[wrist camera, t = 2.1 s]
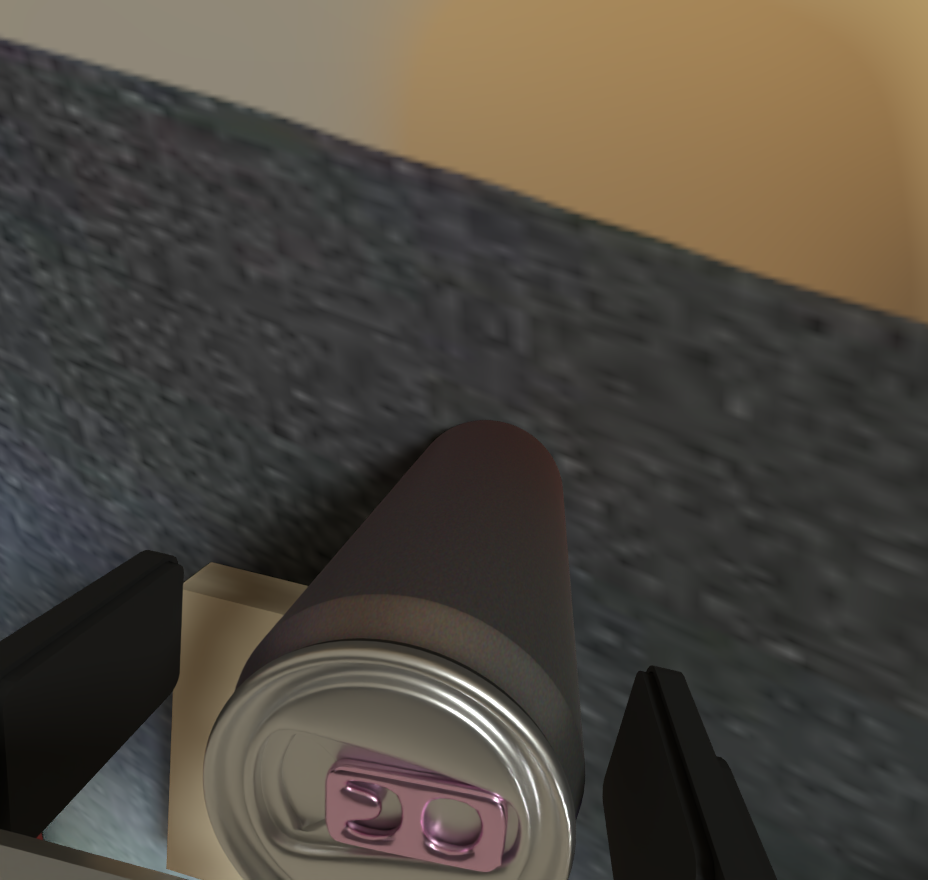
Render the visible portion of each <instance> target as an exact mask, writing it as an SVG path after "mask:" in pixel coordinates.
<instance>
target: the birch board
mask: <svg viewBox="0 0 928 880" xmlns="http://www.w3.org/2000/svg"><path fill="white" fill-rule="evenodd" d="M307 587H308V586H306V585H302V584H298V583H294V582H290V581H286V580H282V579H278V578H274V577H270V576H266V575H261V574H257V573H253V572H249V571H245V570H241V569H237V568H233V567H229V566H225V565H221V564H217V563H213V562H211V563H209V564H208V565H207V566H205V567H204V568H203V569H201V570H200V571H199V572H197V573H196V574H195V575H193V576H192V577H191V578H189V579H188V580H187V581H185V582H184V583H183V602H182V628H181V654H180V675H179V679H178V682H177V684H176V686H175V688H174V690H173V707H172V733H171V760H170V787H169V814H168V841H167V868H166V869H169V870H172V871H176V872H179V873H182V874H185V875H188V876H192V877H195V878H198V879H201V880H243V878H242V877H241V876H240V875H239V873H238V872H237V871H236V869H235V868H234V867H233V865H232V864H231V862H230V861H229V859H228V857H227V856H226V854H225V853H224V851H223V849H222V847H221V845H220V843H219V841H218V839H217V837H216V835H215V833H214V830H213V827H212V825H211V822H210V819H209V816H208V812H207V808H206V803H205V798H204V790H203V763H204V756H205V750H206V745H207V742H208V738H209V735H210V733H211V730H212V727H213V725H214V723H215V721H216V719H217V717H218V715H219V713H220V712H221V710H222V708H223V707H224V705H225V704H226V702H227V701H228V700H229V698H230V697H231V696H232V695H233V693H234V691H235V688H236V685H237V682H238V679H239V677H240V674H241V672H242V670H243V668H244V666H245V664H246V662H247V660H248V659H249V657H250V655H251V654H252V652H253V651H254V650H255V648H256V647H257V646H258V644H259V643H260V642H261V641H262V640H263V638H264V637H265V636H266V635H267V634H268V633H269V632H270V630H271V629H272V628H273V627H274V626H275V625H276V623H277V622H278V621H279V620H280V619H281V618H282V616H283V615H284V614H285V613H286V612H287V611H288V609H289V608H290V607H291V606H292V605H293V604H294V602H295V601H296V600H297V599H298V598H299V597H300V595H301V594H302V593H303V592H304V591H305V590H306V588H307Z"/></svg>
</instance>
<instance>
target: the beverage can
mask: <svg viewBox="0 0 928 880" xmlns="http://www.w3.org/2000/svg"><path fill="white" fill-rule="evenodd" d="M584 784H585V761H584V748H583V736H582V723H581V711H580V698H579V686H578V673H577V661H576V648H575V636H574V623H573V611H572V598H571V586H570V573H569V561H568V548H567V536H566V523H565V511H564V498H563V487H562V480H561V476H560V473H559V470H558V467H557V465H556V463H555V461H554V459H553V458H552V456H551V455H550V453H549V452H548V450H547V449H546V448H545V447H544V446H543V445H542V444H541V443H540V442H539V441H538V440H537V439H536V438H535V437H533V436H532V435H531V434H529V433H528V432H526V431H524V430H523V429H521V428H518V427H516V426H514V425H511V424H508V423H504V422H500V421H492V420H479V421H471V422H467V423H463V424H460V425H457V426H455V427H453V428H451V429H449V430H447V431H446V432H444V433H443V434H441V435H440V436H439V437H437V438H436V439H435V440H434V441H433V442H432V443H431V444H430V445H429V447H428V448H427V449H426V450H425V451H424V452H423V454H422V455H421V456H420V457H419V458H418V459H417V461H416V462H415V463H414V464H413V465H412V466H411V468H410V469H409V470H408V471H407V472H406V473H405V475H404V476H403V477H402V478H401V479H400V480H399V481H398V483H397V484H396V485H395V486H394V487H393V488H392V490H391V491H390V492H389V493H388V494H387V495H386V497H385V498H384V499H383V500H382V501H381V502H380V504H379V505H378V506H377V507H376V508H375V509H374V511H373V512H372V513H371V514H370V515H369V516H368V518H367V519H366V520H365V521H364V522H363V523H362V525H361V526H360V527H359V528H358V529H357V530H356V532H355V533H354V534H353V535H352V536H351V537H350V538H349V540H348V541H347V542H346V543H345V544H344V545H343V547H342V548H341V549H340V550H339V551H338V552H337V554H336V555H335V556H334V557H333V558H332V559H331V561H330V562H329V563H328V564H327V565H326V566H325V568H324V569H323V570H322V571H321V572H320V573H319V575H318V576H317V577H316V578H315V579H314V580H313V582H312V583H311V584H310V585H309V586H308V587H307V588H306V590H305V591H304V592H303V593H302V594H301V595H300V597H299V598H298V599H297V600H296V601H295V602H294V604H293V605H292V606H291V607H290V608H289V609H288V611H287V612H286V613H285V614H284V615H283V616H282V618H281V619H280V620H279V621H278V622H277V623H276V625H275V626H274V627H273V628H272V629H271V630H270V632H269V633H268V634H267V635H266V636H265V637H264V638H263V640H262V641H261V642H260V643H259V644H258V646H257V647H256V648H255V650H254V651H253V652H252V654H251V655H250V657H249V659H248V660H247V662H246V664H245V666H244V668H243V670H242V672H241V674H240V677H239V679H238V682H237V685H236V688H235V691H234V693H233V695H232V696H231V697H230V698H229V700H228V701H227V702H226V704H225V705H224V707H223V708H222V710H221V712H220V713H219V715H218V717H217V719H216V721H215V723H214V725H213V727H212V730H211V733H210V735H209V738H208V742H207V745H206V750H205V756H204V763H203V790H204V798H205V803H206V808H207V812H208V816H209V819H210V822H211V825H212V827H213V830H214V833H215V835H216V837H217V839H218V841H219V843H220V845H221V847H222V849H223V851H224V853H225V854H226V856H227V857H228V859H229V861H230V862H231V864H232V865H233V867H234V868H235V869H236V871H237V872H238V873H239V875H240V876H241V877H242V878H243V880H568V878H569V875H570V872H571V869H572V864H573V859H574V854H575V844H576V819H577V816H578V813H579V810H580V806H581V803H582V798H583V793H584Z"/></svg>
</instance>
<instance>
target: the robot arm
mask: <svg viewBox="0 0 928 880" xmlns="http://www.w3.org/2000/svg"><path fill="white" fill-rule="evenodd" d="M183 575H184V572H183V567H182V566H181V565H179V564H178V561H177V559H176V557H174V556H172V555H168V554H163V553H159V552H155V551H150V550H145V551H142V552H140V553H139V554H137V555H136V556H134V557H133V558H131V559H129V560H128V561H126V562H125V563H123V564H122V565H120V566H118V567H117V568H115V569H114V570H112V571H110V572H109V573H107V574H106V575H104V576H103V577H101V578H99V579H98V580H96V581H95V582H93V583H92V584H90V585H88V586H87V587H85V588H84V589H82V590H81V591H79V592H77V593H76V594H74V595H73V596H71V597H70V598H68V599H66V600H65V601H63V602H62V603H60V604H58V605H57V606H55V607H54V608H52V609H51V610H49V611H47V612H46V613H44V614H43V615H41V616H40V617H38V618H36V619H35V620H33V621H32V622H30V623H29V624H27V625H25V626H24V627H22V628H21V629H19V630H17V631H16V632H14V633H13V634H11V635H10V636H8V637H6V638H5V639H3V640H2V641H0V880H187V879H184V878H180V877H177V876H173V875H169V874H166V873H162V872H158V871H155V870H151V869H147V868H144V867H140V866H136V865H132V864H129V863H125V862H121V861H118V860H114V859H110V858H107V857H103V856H99V855H95V854H92V853H88V852H84V851H81V850H77V849H73V848H70V847H66V846H62V845H58V844H55V843H51V842H47V841H44V840H40V839H36V838H37V837H38V836H39V835H40V834H41V833H42V831H43V830H44V829H45V828H46V827H47V826H48V825H49V824H50V823H51V822H52V821H53V820H54V819H55V817H56V816H57V815H58V814H59V813H60V812H61V811H62V810H63V809H64V808H65V807H66V806H67V805H68V803H69V802H70V801H71V800H72V799H73V798H74V797H75V796H76V795H77V794H78V793H79V792H80V791H81V790H82V788H83V787H84V786H85V785H86V784H87V783H88V782H89V781H90V780H91V779H92V778H93V777H94V776H95V774H96V773H97V772H98V771H99V770H100V769H101V768H102V767H103V766H104V765H105V764H106V763H107V762H108V760H109V759H110V758H111V757H112V756H113V755H114V754H115V753H116V752H117V751H118V750H119V749H120V748H121V746H122V745H123V744H124V743H125V742H126V741H127V740H128V739H129V738H130V737H131V736H132V735H133V734H134V733H135V731H136V730H137V729H138V728H139V727H140V726H141V725H142V724H143V723H144V722H145V721H146V720H147V719H148V717H149V716H150V715H151V714H152V713H153V712H154V711H155V710H156V709H157V708H158V707H159V706H160V705H161V703H162V702H163V701H164V700H165V699H166V698H167V697H168V696H169V695H170V694H171V692H172V691H173V690H174V688H175V686H176V684H177V682H178V679H179V675H180V654H181V628H182V602H183ZM603 806H604V813H605V820H606V828H607V835H608V842H609V849H610V856H611V864H612V871H613V878H614V880H777V878H776V876H775V873H774V871H773V869H772V866H771V864H770V862H769V859H768V857H767V854H766V852H765V850H764V847H763V845H762V843H761V840H760V838H759V836H758V833H757V831H756V828H755V826H754V824H753V821H752V819H751V817H750V814H749V812H748V809H747V807H746V805H745V802H744V800H743V798H742V795H741V793H740V790H739V788H738V786H737V783H736V781H735V779H734V776H733V774H732V771H731V769H730V767H729V766H728V764H727V762H726V761H725V760H724V759H722V758H721V757H717V756H716V755H715V752H714V750H713V747H712V745H711V742H710V740H709V737H708V735H707V732H706V730H705V727H704V725H703V722H702V720H701V717H700V715H699V712H698V710H697V707H696V705H695V702H694V700H693V697H692V695H691V692H690V690H689V688H688V685H687V683H686V680H685V678H684V676H683V674H682V673H681V672H678V671H674V670H670V669H665V668H661V667H657V666H649V668H648V669H647V671H646V672H643V671H638V673H637V675H636V677H635V681H634V684H633V687H632V690H631V694H630V697H629V700H628V703H627V707H626V710H625V713H624V716H623V720H622V723H621V726H620V729H619V733H618V736H617V739H616V743H615V746H614V749H613V752H612V756H611V759H610V762H609V765H608V769H607V772H606V775H605V779H604V784H603Z"/></svg>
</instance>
